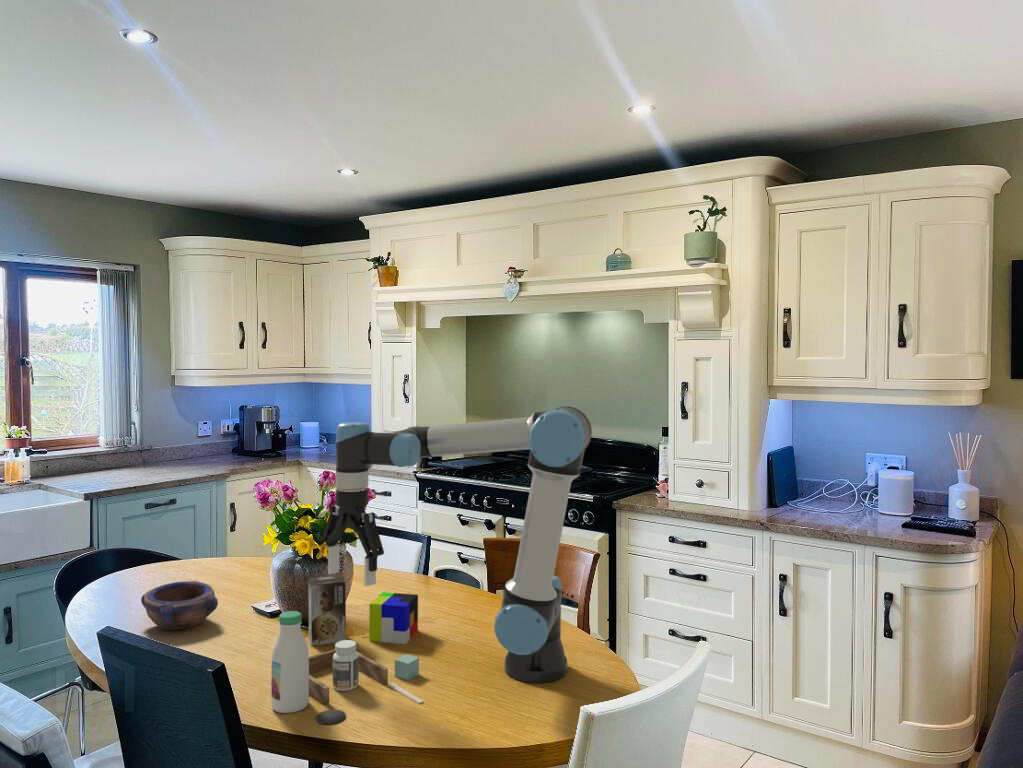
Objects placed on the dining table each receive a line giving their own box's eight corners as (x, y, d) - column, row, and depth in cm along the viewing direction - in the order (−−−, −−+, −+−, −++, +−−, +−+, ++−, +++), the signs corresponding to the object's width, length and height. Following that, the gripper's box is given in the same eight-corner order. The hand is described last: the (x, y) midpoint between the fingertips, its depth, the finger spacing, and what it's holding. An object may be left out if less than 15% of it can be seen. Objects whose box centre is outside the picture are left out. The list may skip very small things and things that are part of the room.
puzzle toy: (405, 644, 200) (405, 606, 199) (369, 641, 202) (369, 603, 201) (417, 630, 209) (418, 594, 209) (383, 627, 211) (383, 592, 211)
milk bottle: (312, 697, 168) (312, 607, 167) (304, 714, 160) (304, 620, 160) (277, 697, 168) (277, 607, 167) (266, 714, 160) (266, 620, 159)
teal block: (418, 674, 181) (418, 657, 181) (407, 680, 178) (407, 663, 178) (405, 670, 183) (405, 654, 183) (394, 676, 180) (394, 659, 180)
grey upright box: (342, 633, 207) (342, 574, 206) (346, 642, 201) (346, 581, 200) (307, 637, 203) (307, 577, 203) (310, 646, 197) (310, 584, 197)
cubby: (387, 683, 176) (387, 668, 176) (325, 704, 165) (325, 688, 165) (346, 659, 189) (346, 645, 189) (286, 678, 178) (286, 663, 178)
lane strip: (423, 702, 167) (423, 700, 167) (419, 703, 166) (419, 702, 166) (392, 684, 175) (392, 683, 175) (387, 685, 175) (387, 684, 175)
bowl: (154, 642, 199) (154, 604, 198) (136, 623, 213) (136, 587, 212) (224, 627, 210) (224, 591, 210) (202, 609, 224) (202, 576, 224)
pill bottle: (347, 679, 178) (347, 637, 178) (363, 686, 174) (363, 643, 174) (327, 687, 174) (327, 644, 173) (343, 694, 170) (343, 650, 170)
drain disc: (351, 718, 159) (351, 716, 159) (325, 727, 155) (325, 726, 155) (336, 708, 163) (336, 706, 163) (310, 717, 159) (310, 715, 159)
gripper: (400, 493, 174) (399, 586, 175) (332, 480, 190) (332, 565, 191) (374, 498, 168) (373, 593, 169) (307, 484, 184) (306, 571, 185)
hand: (351, 578), depth 180 cm, fingers open, 13 cm apart
